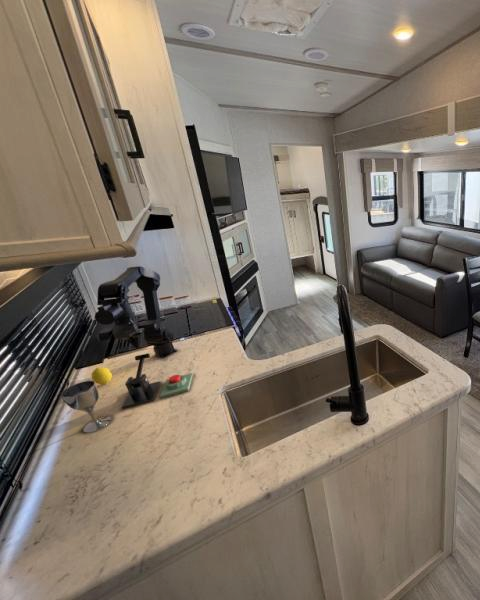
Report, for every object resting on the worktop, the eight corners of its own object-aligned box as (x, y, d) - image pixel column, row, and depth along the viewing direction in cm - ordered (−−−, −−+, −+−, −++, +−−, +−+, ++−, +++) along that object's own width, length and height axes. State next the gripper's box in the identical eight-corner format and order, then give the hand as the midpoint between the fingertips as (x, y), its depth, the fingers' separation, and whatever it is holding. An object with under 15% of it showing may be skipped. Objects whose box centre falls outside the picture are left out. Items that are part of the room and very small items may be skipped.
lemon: (118, 379, 127) (110, 363, 124) (105, 388, 122) (96, 371, 119) (106, 379, 128) (98, 363, 125) (93, 388, 123) (84, 371, 120)
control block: (167, 382, 124) (164, 375, 123) (192, 375, 128) (190, 369, 127) (160, 398, 115) (158, 392, 114) (188, 391, 119) (186, 384, 117)
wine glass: (76, 430, 102) (54, 394, 96) (104, 413, 109) (85, 379, 103) (90, 436, 99) (69, 399, 93) (118, 418, 106) (100, 383, 100)
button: (171, 379, 121) (169, 376, 121) (181, 377, 123) (180, 373, 122) (169, 385, 118) (167, 381, 118) (180, 382, 120) (178, 378, 119)
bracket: (133, 389, 121) (125, 373, 118) (160, 383, 124) (154, 366, 121) (122, 409, 111) (114, 391, 108) (153, 401, 114) (145, 384, 111)
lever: (137, 359, 124) (134, 355, 123) (150, 356, 126) (148, 352, 124) (130, 389, 114) (127, 385, 112) (145, 385, 116) (142, 381, 114)
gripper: (82, 327, 109) (101, 364, 115) (146, 316, 115) (160, 351, 121) (95, 315, 118) (112, 350, 124) (154, 305, 125) (167, 339, 131)
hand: (138, 348), depth 125 cm, fingers closed
